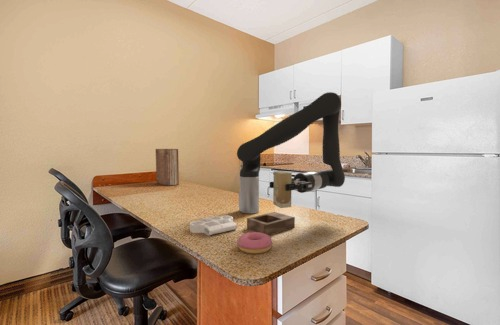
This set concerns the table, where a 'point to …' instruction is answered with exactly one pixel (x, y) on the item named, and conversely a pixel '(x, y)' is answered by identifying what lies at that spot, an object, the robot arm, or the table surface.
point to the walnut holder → (270, 223)
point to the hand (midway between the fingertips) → (278, 186)
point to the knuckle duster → (213, 225)
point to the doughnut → (254, 242)
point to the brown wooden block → (167, 166)
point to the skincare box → (282, 189)
